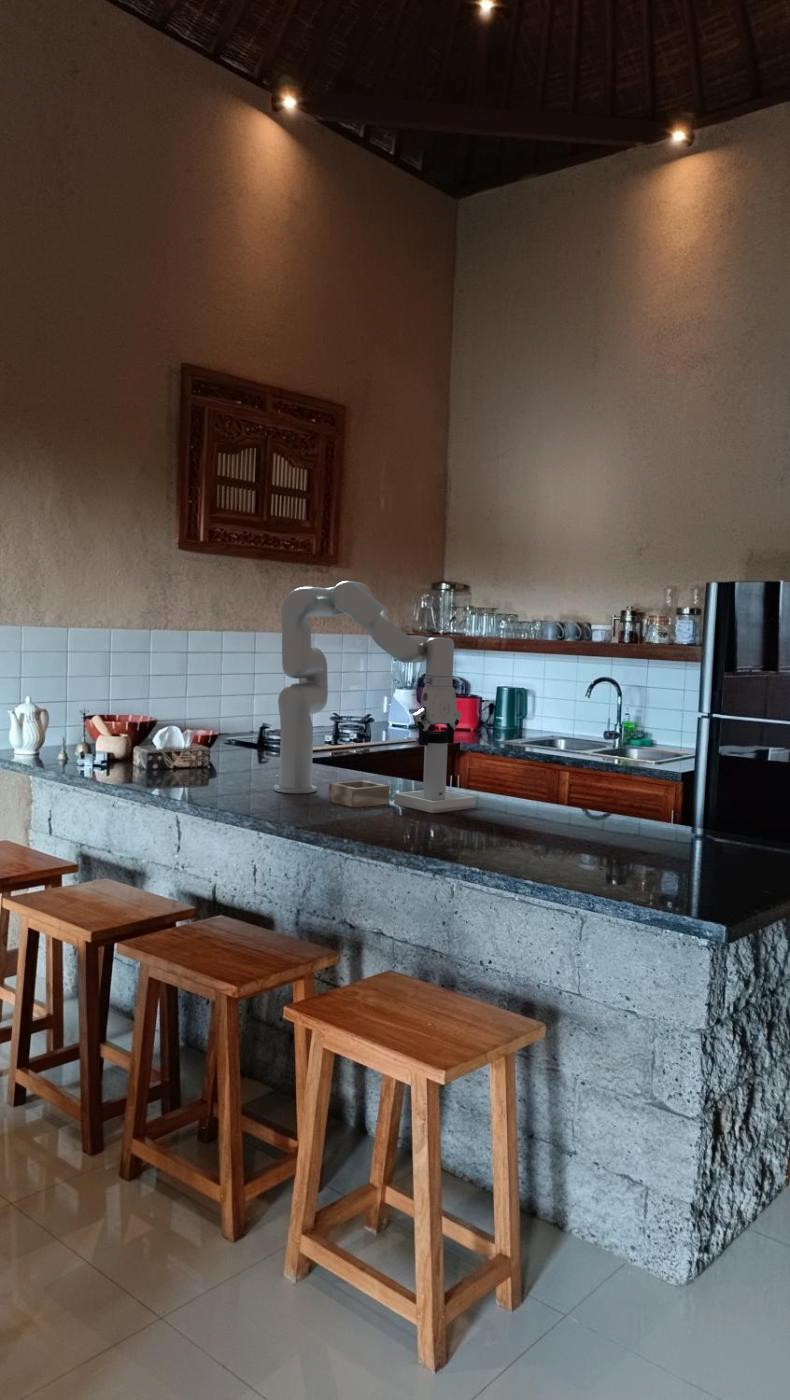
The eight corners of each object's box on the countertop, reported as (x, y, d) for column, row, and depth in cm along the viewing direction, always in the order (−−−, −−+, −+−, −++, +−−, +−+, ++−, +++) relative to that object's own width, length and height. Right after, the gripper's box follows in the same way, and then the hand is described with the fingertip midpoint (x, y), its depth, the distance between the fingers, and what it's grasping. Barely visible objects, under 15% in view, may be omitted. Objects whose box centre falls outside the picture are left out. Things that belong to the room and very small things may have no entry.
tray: (393, 803, 283) (394, 793, 283) (436, 798, 293) (436, 788, 293) (432, 813, 271) (433, 802, 271) (475, 807, 281) (475, 796, 281)
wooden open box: (328, 800, 284) (329, 783, 284) (362, 797, 292) (362, 780, 292) (355, 807, 275) (355, 789, 275) (388, 803, 283) (389, 785, 283)
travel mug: (446, 804, 279) (449, 731, 278) (422, 803, 279) (425, 731, 278) (446, 800, 285) (448, 729, 284) (422, 799, 286) (425, 728, 284)
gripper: (424, 683, 271) (422, 747, 273) (470, 683, 282) (468, 744, 284) (406, 681, 277) (403, 744, 278) (452, 681, 288) (449, 741, 289)
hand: (436, 744), depth 281 cm, fingers open, 9 cm apart
